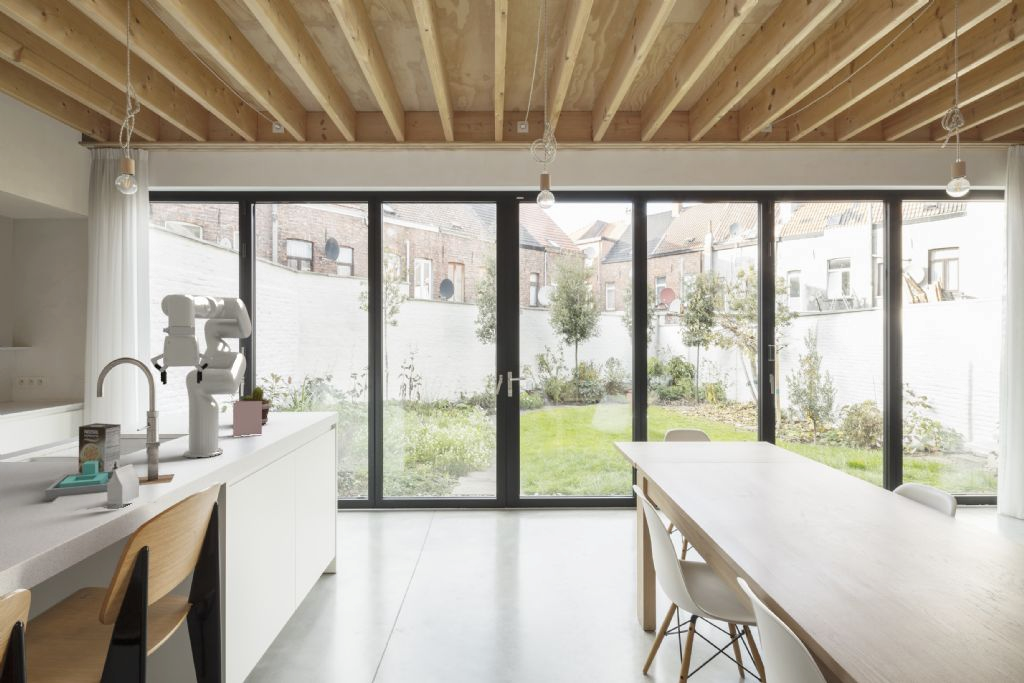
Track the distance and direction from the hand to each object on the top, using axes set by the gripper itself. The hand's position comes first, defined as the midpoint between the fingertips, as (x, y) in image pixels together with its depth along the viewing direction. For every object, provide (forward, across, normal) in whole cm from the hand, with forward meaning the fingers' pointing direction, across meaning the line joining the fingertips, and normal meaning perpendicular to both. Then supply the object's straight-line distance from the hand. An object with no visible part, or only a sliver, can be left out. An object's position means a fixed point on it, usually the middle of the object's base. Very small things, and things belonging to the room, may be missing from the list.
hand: (181, 383), depth 181 cm
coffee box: (+28, -22, -3) cm, 36 cm away
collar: (+27, -22, -18) cm, 39 cm away
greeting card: (+29, +19, +53) cm, 63 cm away
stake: (+28, -6, -18) cm, 34 cm away
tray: (+28, -22, -19) cm, 40 cm away
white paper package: (+28, -9, -38) cm, 48 cm away
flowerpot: (+29, +22, +83) cm, 91 cm away
